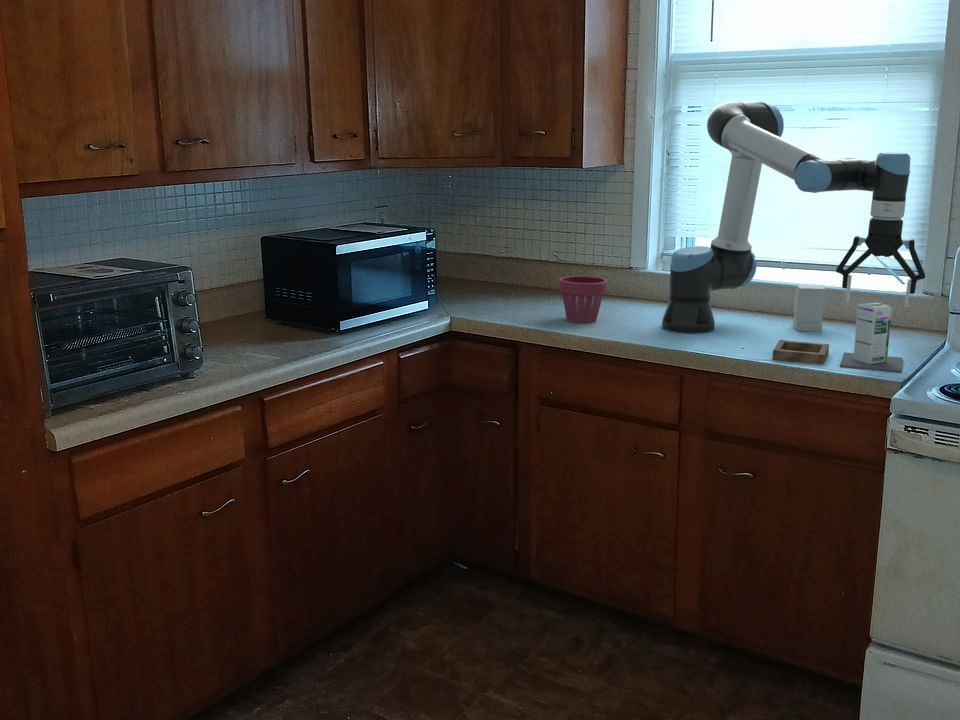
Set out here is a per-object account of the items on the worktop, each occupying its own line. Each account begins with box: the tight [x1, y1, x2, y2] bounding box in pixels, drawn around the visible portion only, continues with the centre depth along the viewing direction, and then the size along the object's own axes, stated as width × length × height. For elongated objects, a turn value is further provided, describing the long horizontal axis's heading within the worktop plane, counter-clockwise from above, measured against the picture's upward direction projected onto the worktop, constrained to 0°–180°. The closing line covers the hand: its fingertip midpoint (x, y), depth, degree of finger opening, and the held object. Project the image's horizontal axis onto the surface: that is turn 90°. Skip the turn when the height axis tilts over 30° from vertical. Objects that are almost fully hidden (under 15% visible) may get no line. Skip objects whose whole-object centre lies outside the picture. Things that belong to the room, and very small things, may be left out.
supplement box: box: [792, 284, 826, 333], centre depth 274 cm, size 7×7×13 cm
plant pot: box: [558, 275, 608, 324], centre depth 286 cm, size 14×14×13 cm
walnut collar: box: [772, 339, 830, 365], centre depth 243 cm, size 12×12×2 cm
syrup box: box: [853, 302, 893, 364], centre depth 235 cm, size 6×6×14 cm
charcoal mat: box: [839, 351, 903, 374], centre depth 237 cm, size 14×14×1 cm
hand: (876, 304), depth 233 cm, fingers open, 13 cm apart
